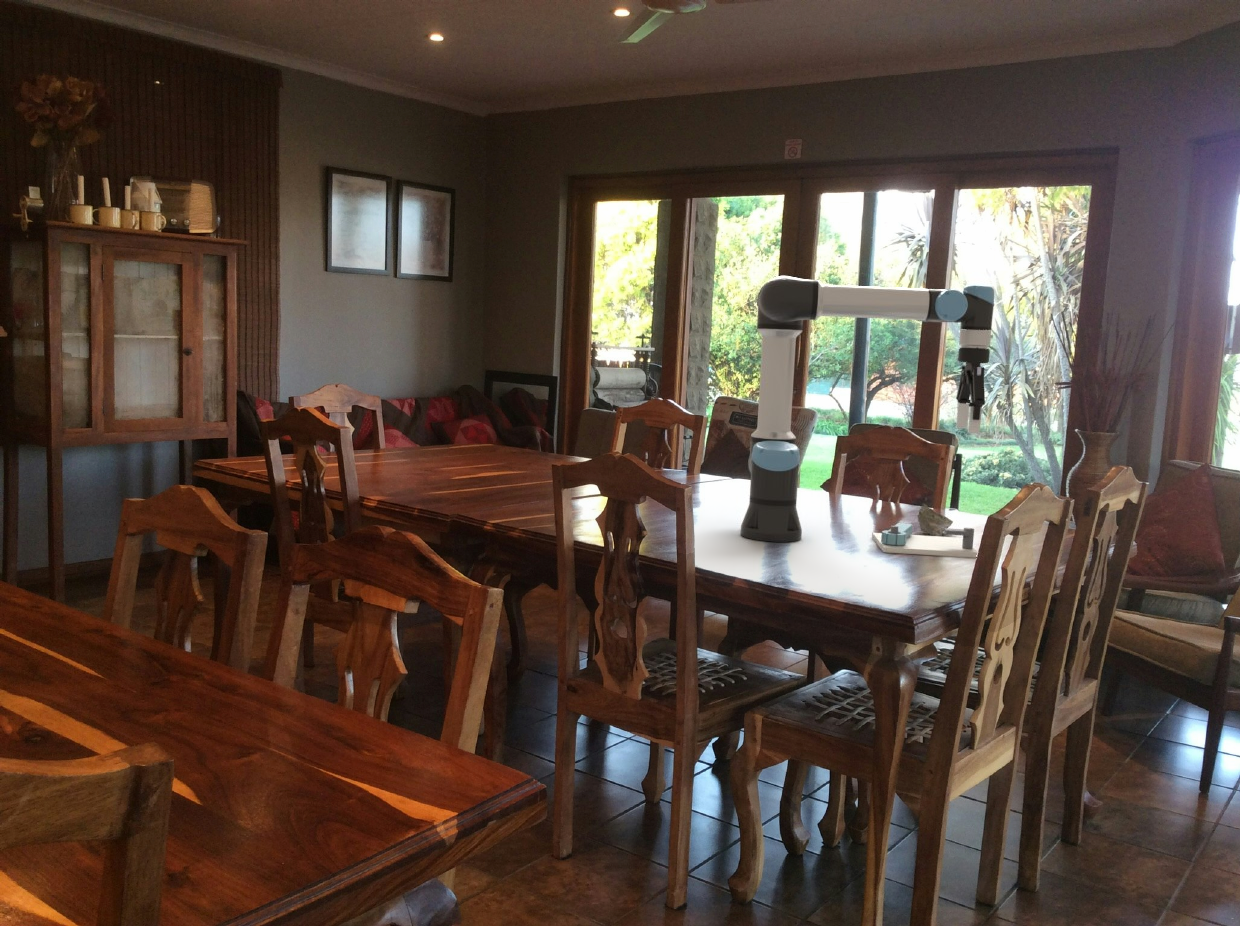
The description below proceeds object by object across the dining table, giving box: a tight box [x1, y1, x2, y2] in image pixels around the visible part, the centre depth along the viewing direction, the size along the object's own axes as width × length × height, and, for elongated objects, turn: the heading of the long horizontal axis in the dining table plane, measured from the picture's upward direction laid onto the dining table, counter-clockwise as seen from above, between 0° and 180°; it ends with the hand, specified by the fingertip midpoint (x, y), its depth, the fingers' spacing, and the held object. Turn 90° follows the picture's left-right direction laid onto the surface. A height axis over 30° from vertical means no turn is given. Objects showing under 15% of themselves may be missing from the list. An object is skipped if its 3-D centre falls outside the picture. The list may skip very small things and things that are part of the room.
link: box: [881, 522, 913, 545], centre depth 264 cm, size 18×6×2 cm, turn 155°
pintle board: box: [871, 525, 979, 559], centre depth 262 cm, size 22×19×6 cm
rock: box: [917, 502, 954, 537], centre depth 282 cm, size 11×6×10 cm
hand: (967, 430), depth 274 cm, fingers open, 13 cm apart
